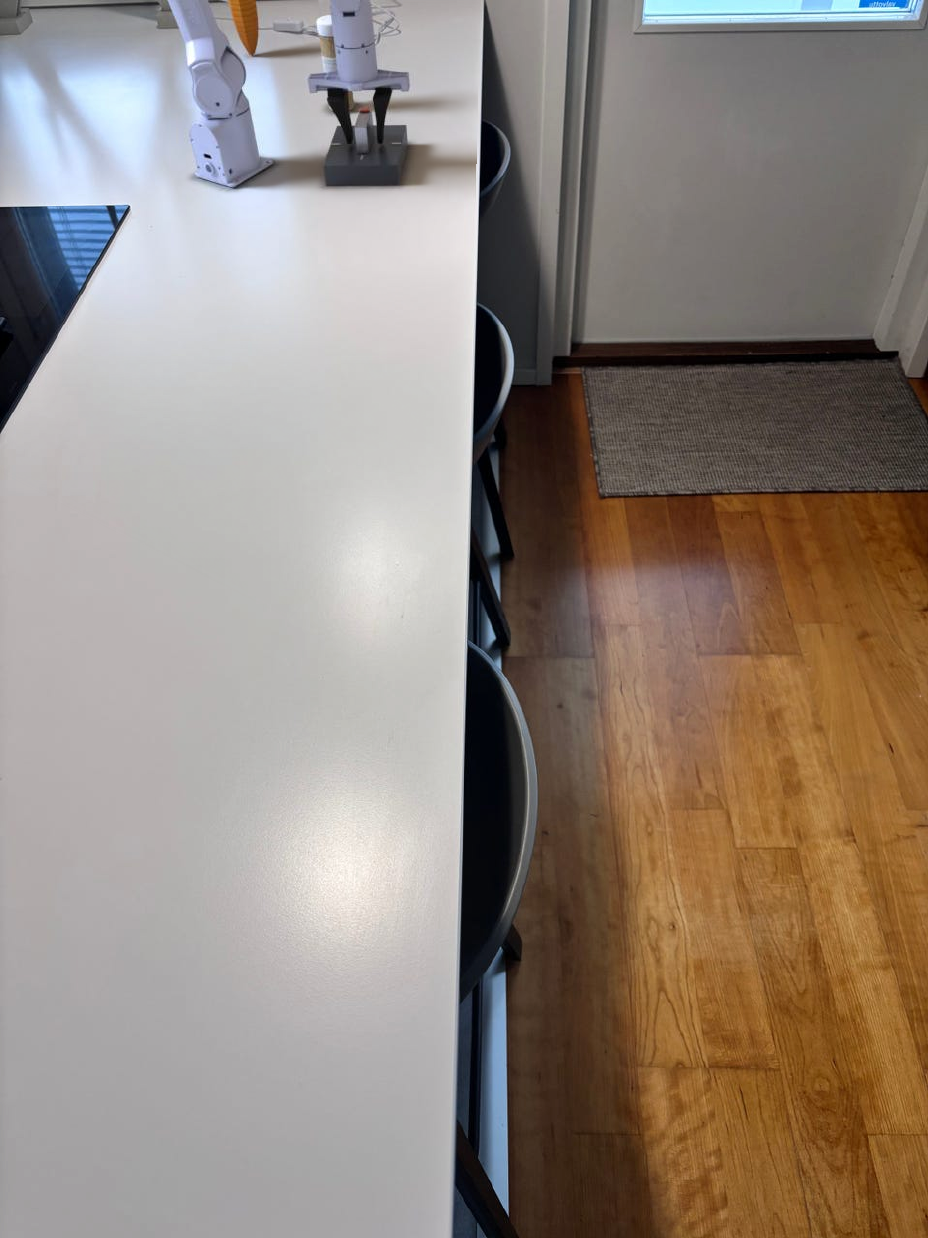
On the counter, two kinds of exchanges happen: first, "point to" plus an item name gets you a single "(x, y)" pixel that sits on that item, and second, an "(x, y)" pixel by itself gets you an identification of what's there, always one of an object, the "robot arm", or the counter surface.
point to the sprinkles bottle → (329, 50)
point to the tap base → (366, 159)
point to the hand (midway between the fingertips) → (365, 140)
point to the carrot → (246, 22)
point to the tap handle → (364, 131)
